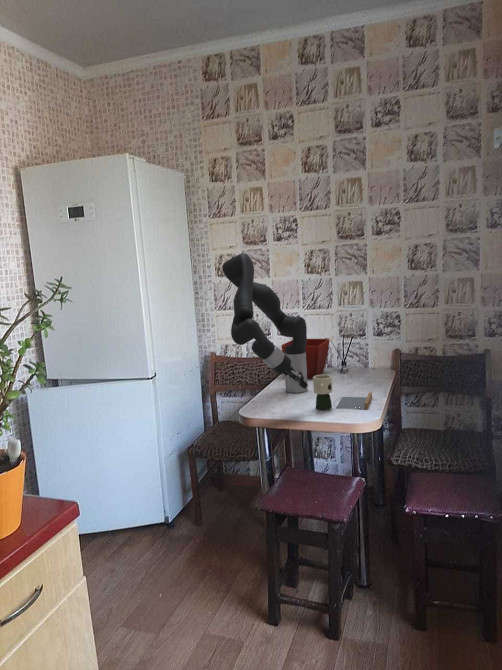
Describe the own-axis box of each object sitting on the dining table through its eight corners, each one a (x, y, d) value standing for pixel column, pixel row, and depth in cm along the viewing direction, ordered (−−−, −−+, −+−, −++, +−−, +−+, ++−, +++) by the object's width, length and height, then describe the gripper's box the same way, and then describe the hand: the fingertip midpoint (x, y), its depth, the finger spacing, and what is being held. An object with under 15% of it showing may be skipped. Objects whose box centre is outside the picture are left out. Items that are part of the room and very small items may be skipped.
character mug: (332, 413, 203) (330, 379, 201) (313, 413, 205) (311, 380, 203) (333, 405, 214) (332, 373, 212) (315, 405, 215) (314, 373, 213)
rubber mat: (335, 408, 209) (335, 402, 208) (342, 397, 224) (342, 391, 223) (367, 409, 205) (367, 403, 204) (372, 398, 220) (371, 392, 219)
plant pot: (319, 380, 256) (317, 345, 253) (282, 378, 264) (280, 345, 262) (331, 371, 273) (330, 338, 270) (296, 370, 281) (294, 338, 279)
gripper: (261, 364, 202) (291, 391, 209) (279, 370, 190) (309, 398, 197) (272, 349, 204) (301, 375, 211) (291, 353, 192) (321, 381, 199)
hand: (305, 386), depth 204 cm, fingers closed
